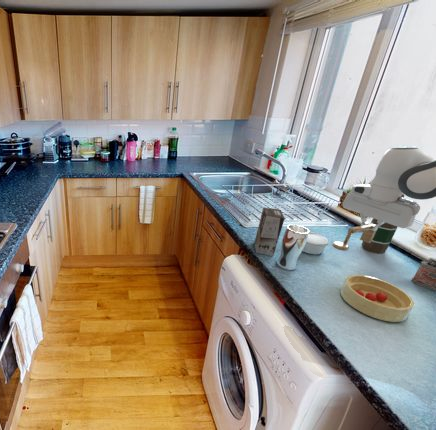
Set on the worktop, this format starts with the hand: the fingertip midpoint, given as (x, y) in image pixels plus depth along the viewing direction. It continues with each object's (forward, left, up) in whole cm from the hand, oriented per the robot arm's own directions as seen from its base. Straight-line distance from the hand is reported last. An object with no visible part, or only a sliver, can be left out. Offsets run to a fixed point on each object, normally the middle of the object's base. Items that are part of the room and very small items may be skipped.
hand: (368, 228), depth 105 cm
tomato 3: (-18, +22, -10) cm, 30 cm away
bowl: (-18, +25, -12) cm, 33 cm away
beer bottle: (+1, -13, -12) cm, 18 cm away
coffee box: (+17, +29, -12) cm, 36 cm away
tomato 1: (-15, +27, -10) cm, 33 cm away
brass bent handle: (0, +7, -5) cm, 9 cm away
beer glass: (+6, +31, -12) cm, 34 cm away
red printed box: (-20, -3, -12) cm, 24 cm away
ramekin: (+11, +12, -12) cm, 20 cm away
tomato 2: (-17, +25, -10) cm, 32 cm away
